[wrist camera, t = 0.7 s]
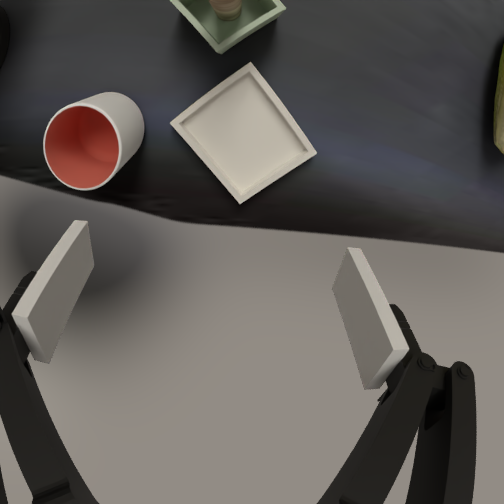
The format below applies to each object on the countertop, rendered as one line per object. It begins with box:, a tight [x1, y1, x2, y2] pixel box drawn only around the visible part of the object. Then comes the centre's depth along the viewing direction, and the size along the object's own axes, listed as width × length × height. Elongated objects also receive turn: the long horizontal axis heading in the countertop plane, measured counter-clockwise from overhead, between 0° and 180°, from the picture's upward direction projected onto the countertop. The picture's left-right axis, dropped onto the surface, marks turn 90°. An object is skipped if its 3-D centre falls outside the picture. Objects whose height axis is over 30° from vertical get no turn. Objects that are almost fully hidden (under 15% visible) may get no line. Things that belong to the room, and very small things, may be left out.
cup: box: [43, 92, 144, 190], centre depth 33 cm, size 10×10×10 cm
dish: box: [170, 62, 317, 204], centre depth 38 cm, size 14×12×2 cm
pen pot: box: [170, 0, 286, 54], centre depth 26 cm, size 8×8×8 cm
